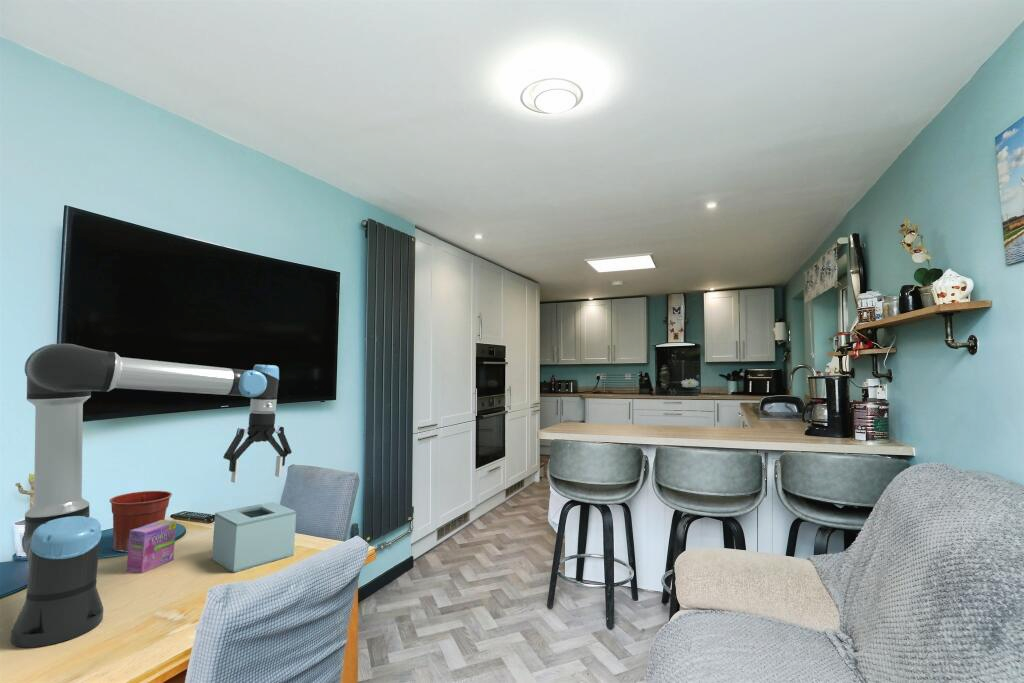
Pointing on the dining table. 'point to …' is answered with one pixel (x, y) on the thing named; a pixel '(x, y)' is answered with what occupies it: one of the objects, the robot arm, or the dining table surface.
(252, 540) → the posting box
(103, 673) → the dining table surface
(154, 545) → the box
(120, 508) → the flower pot
